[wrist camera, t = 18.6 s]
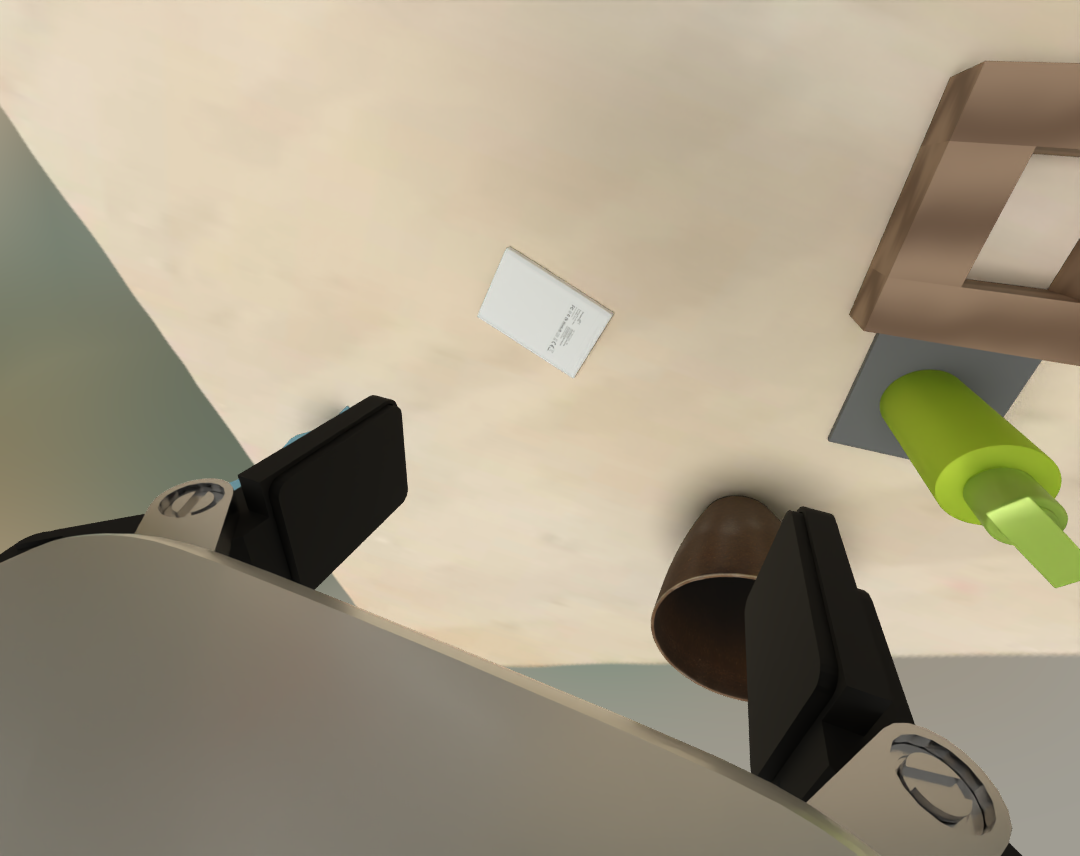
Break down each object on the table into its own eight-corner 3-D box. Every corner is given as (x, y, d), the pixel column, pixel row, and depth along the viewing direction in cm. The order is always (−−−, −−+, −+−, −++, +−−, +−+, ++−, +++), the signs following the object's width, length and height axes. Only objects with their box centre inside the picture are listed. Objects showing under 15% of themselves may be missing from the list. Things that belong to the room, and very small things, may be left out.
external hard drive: (512, 245, 46) (615, 311, 46) (482, 314, 51) (576, 374, 50) (506, 247, 45) (612, 315, 44) (476, 317, 49) (572, 380, 49)
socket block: (950, 77, 30) (985, 61, 26) (1276, 88, 26) (1379, 70, 22) (849, 314, 38) (863, 330, 34) (1086, 351, 34) (1135, 375, 30)
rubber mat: (880, 325, 38) (882, 327, 37) (1041, 351, 35) (1046, 353, 35) (827, 438, 43) (828, 441, 43) (963, 468, 41) (966, 471, 40)
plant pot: (841, 557, 48) (883, 698, 35) (708, 586, 56) (702, 711, 43) (776, 445, 45) (796, 553, 32) (646, 493, 53) (618, 596, 40)
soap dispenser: (927, 346, 37) (1089, 480, 20) (983, 405, 37) (1183, 583, 21) (856, 390, 40) (944, 537, 24) (907, 444, 41) (1029, 624, 24)
